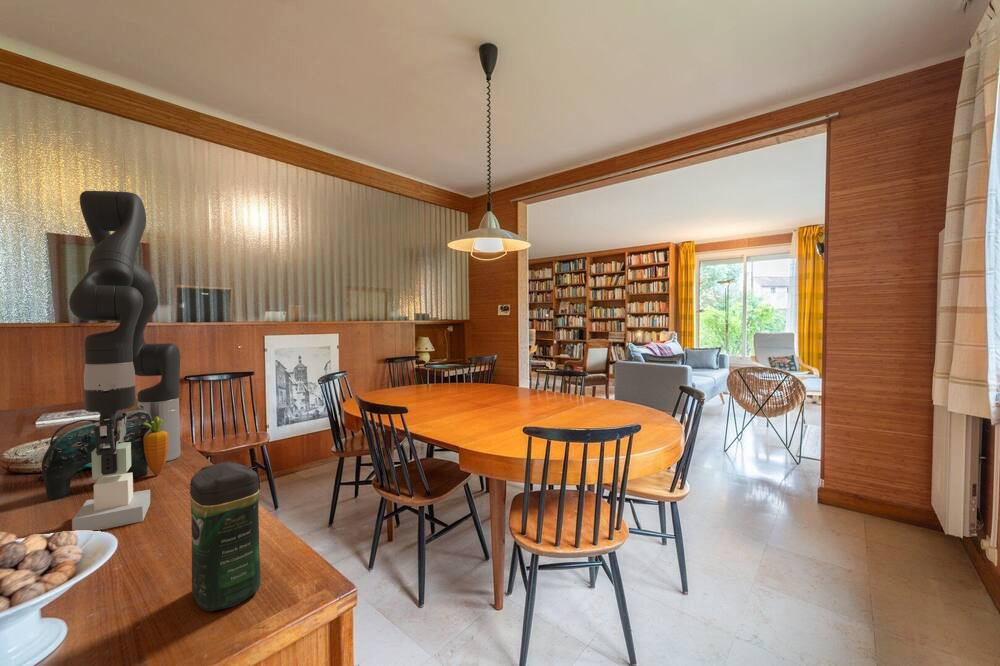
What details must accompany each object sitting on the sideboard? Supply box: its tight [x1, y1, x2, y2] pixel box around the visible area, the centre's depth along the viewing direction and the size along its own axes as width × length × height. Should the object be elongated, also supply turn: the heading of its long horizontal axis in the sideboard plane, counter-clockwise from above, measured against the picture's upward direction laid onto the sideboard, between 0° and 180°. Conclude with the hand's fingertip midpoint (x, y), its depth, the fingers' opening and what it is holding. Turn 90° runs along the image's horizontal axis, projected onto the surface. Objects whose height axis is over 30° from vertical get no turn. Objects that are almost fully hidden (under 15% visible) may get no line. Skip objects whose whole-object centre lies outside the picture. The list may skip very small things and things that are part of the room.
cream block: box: [93, 472, 134, 511], centre depth 84 cm, size 5×5×5 cm
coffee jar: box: [189, 461, 261, 612], centre depth 61 cm, size 10×8×19 cm
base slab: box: [71, 489, 151, 531], centre depth 84 cm, size 10×10×3 cm
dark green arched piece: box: [41, 405, 152, 501], centre depth 101 cm, size 20×6×20 cm, turn 152°
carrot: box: [143, 417, 168, 476], centre depth 107 cm, size 5×5×15 cm
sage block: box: [91, 442, 131, 479], centre depth 84 cm, size 5×5×5 cm
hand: (112, 469), depth 84 cm, fingers closed on sage block, 5 cm apart
